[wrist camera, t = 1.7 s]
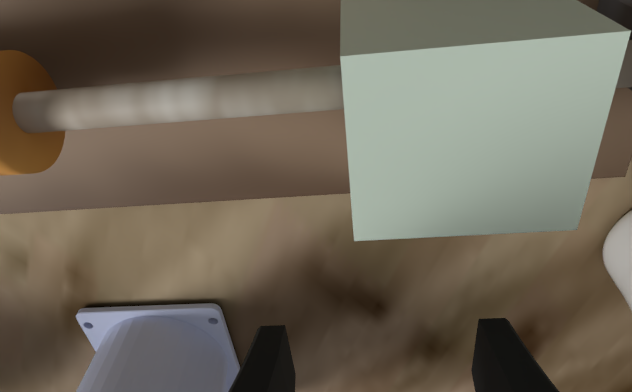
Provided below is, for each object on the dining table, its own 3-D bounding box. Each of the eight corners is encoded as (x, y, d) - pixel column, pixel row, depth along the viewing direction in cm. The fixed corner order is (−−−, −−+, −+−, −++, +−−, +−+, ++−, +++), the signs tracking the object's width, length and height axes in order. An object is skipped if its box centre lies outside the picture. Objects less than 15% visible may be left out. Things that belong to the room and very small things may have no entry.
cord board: (612, 163, 19) (713, 272, 14) (-23, 203, 22) (-135, 306, 17) (729, -229, 12) (1008, -297, 7) (-214, -101, 15) (-505, -84, 10)
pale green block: (503, 117, 15) (576, 229, 11) (350, 128, 16) (354, 241, 11) (523, -30, 13) (631, 30, 8) (340, -12, 13) (340, 56, 9)
